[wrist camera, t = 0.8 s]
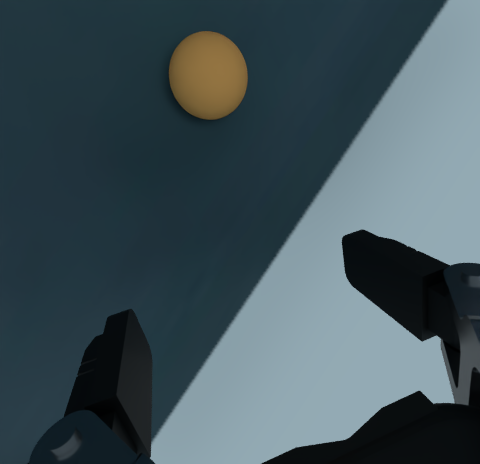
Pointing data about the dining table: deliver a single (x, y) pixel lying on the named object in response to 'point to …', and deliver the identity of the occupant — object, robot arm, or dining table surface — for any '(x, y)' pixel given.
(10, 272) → the dining table surface
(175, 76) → the ball
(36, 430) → the dining table surface
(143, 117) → the dining table surface
